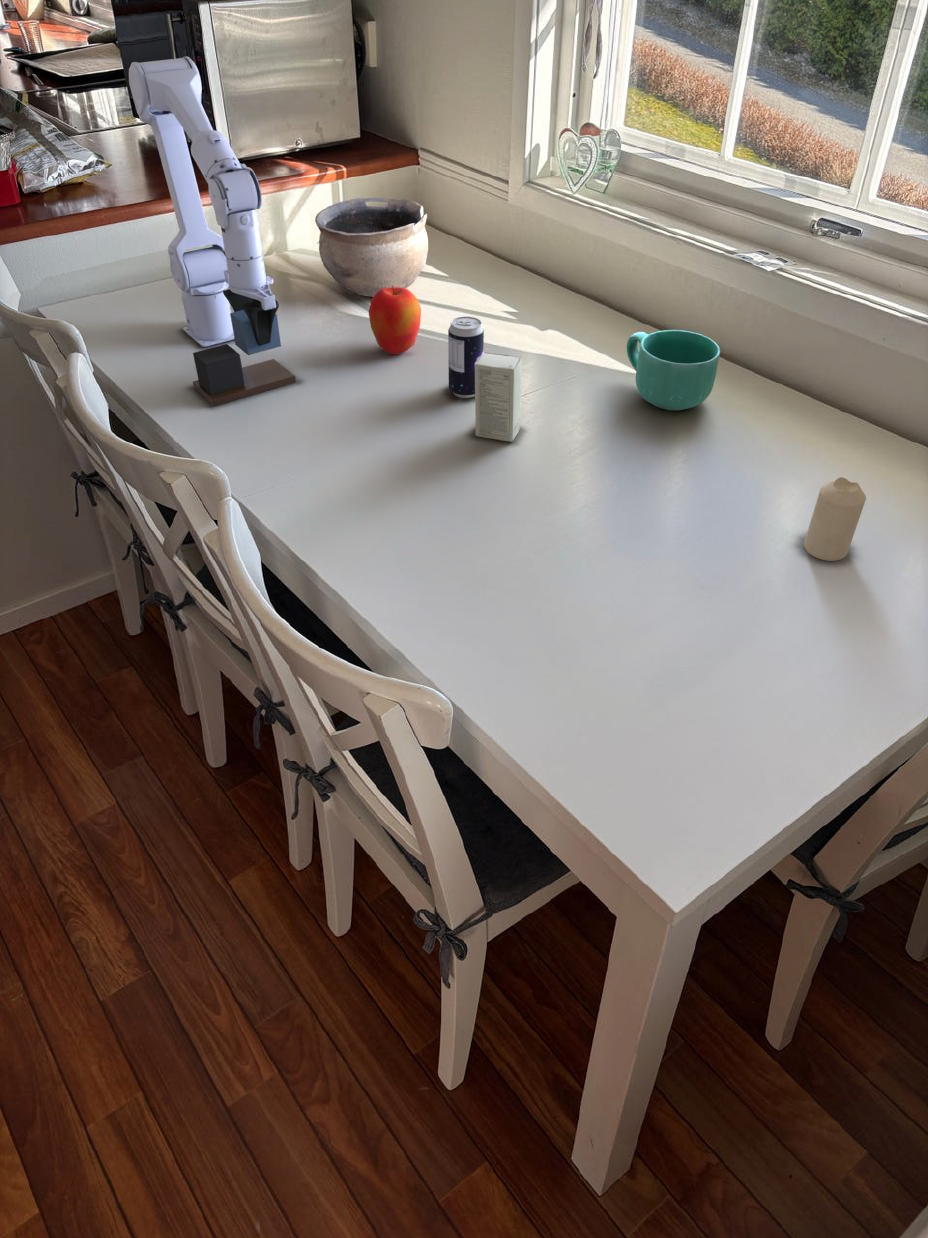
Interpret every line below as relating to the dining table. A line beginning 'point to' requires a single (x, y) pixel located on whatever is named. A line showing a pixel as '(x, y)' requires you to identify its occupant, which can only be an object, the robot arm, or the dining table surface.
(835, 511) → the candle
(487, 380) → the cosmetic box
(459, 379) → the beverage can
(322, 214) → the ceramic bowl
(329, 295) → the dining table surface
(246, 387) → the board
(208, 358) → the dark grey cube
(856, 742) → the dining table surface
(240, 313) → the slate block
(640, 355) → the mug
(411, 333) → the apple
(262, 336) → the robot arm
